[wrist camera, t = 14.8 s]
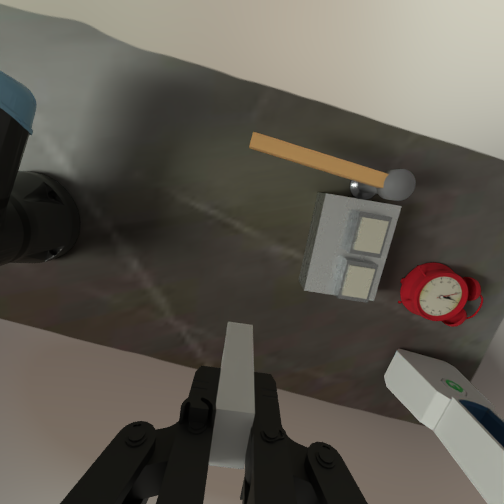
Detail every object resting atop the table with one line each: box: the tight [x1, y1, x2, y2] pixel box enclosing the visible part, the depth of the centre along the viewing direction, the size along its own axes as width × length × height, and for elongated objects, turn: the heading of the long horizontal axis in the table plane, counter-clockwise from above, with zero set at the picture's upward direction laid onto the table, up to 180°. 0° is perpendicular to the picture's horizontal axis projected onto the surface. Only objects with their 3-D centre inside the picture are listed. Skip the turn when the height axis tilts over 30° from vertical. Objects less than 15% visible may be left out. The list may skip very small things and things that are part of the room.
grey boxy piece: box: [299, 180, 402, 303], centre depth 44 cm, size 12×21×7 cm, turn 171°
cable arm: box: [249, 132, 416, 201], centre depth 40 cm, size 22×4×11 cm, turn 74°
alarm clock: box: [398, 263, 483, 327], centre depth 49 cm, size 10×6×15 cm
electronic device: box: [384, 349, 504, 504], centre depth 40 cm, size 12×8×30 cm, turn 73°
